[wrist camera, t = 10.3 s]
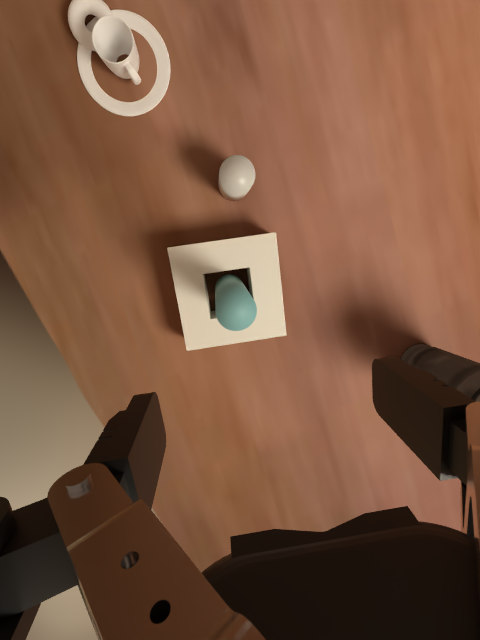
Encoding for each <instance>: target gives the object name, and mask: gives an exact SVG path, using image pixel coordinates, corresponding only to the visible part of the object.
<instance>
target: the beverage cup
mask: <svg viewBox="0 0 480 640" xmlns="http://www.w3.org/2000/svg"><path fill="white" fill-rule="evenodd" d="M401 360H403V361H404V362H406V363H407V364H409V365H411V366H412V367H415V368H418V369H421V370H424V371H427V372H429V373H431V374H432V375H434V376H436V377H437V378H439V380H442V381H444V382H445V383H447V384H448V386H452V387H453V388H455V389H456V390H458V391H460V392H461V393H463V394H464V395H466V396H468V397H469V398H471V399H472V400H474V401H476V402H478V401H480V363H477V362H475V361H472V360H469V359H466V358H463V357H461V356H458V355H455V354H452V353H450V352H447V351H444V350H441V349H438V348H436V347H431V346H428V345H426V344H417V345H413V346H412V347H410V348H408V349H407V350H406V351H405V352H404V354H403V355H402V357H401Z"/></svg>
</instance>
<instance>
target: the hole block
mask: <svg viewBox="0 0 480 640" xmlns="http://www.w3.org/2000/svg"><path fill="white" fill-rule="evenodd" d="M167 249H168V255H169V260H170V265H171V270H172V276H173V281H174V286H175V291H176V297H177V302H178V307H179V312H180V317H181V323H182V328H183V333H184V338H185V344H186V349H187V351H189V350H195V349H202V348H208V347H215V346H221V345H228V344H234V343H241V342H247V341H253V340H260V339H266V338H273V337H279V336H286V326H285V316H284V306H283V297H282V287H281V277H280V267H279V257H278V248H277V238H276V232H275V233H267V234H260V235H253V236H245V237H238V238H231V239H224V240H217V241H210V242H203V243H196V244H189V245H182V246H174V247H168V248H167ZM242 268H247V276H248V283H249V291H250V295H251V296H252V298H253V299H254V301H255V303H256V307H257V314H256V318H255V320H254V322H253V323H252V324H251V325H250V326H249V327H248V328H246V329H244V330H241V331H231V330H228V329H226V328H224V327H223V326H222V325H221V324H220V323H219V322H218V320H217V317H216V312H215V311H211V309H210V303H209V297H208V291H207V284H206V278H205V274H207V273H214V272H221V271H228V270H235V269H242Z"/></svg>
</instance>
